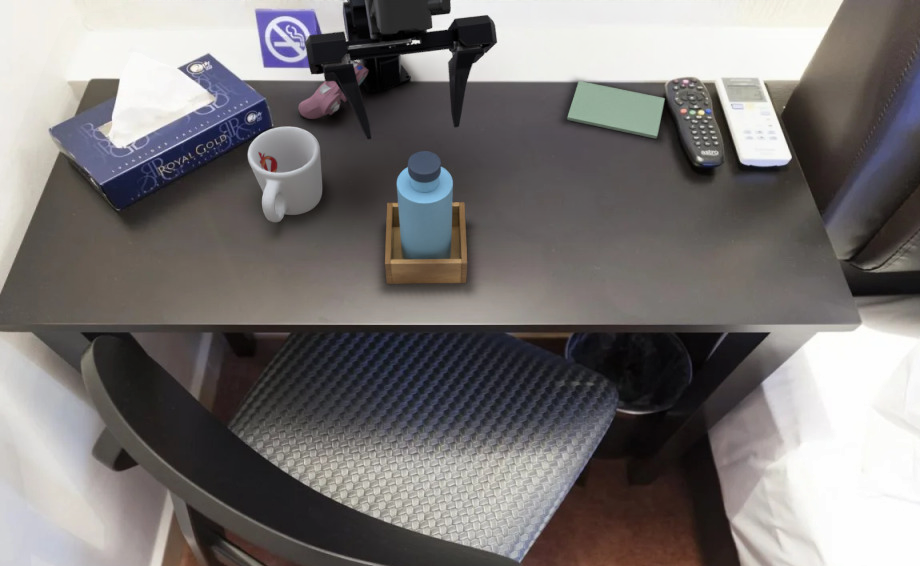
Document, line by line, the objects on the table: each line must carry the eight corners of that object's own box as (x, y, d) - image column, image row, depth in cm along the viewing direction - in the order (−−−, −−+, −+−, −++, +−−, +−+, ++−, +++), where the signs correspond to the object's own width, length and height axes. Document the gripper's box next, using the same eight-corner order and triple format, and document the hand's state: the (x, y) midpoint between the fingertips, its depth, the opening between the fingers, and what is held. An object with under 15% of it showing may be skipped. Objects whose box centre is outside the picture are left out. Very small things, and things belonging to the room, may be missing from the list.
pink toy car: (320, 136, 89) (333, 106, 83) (293, 113, 88) (304, 81, 82) (363, 96, 94) (378, 65, 88) (338, 73, 93) (352, 41, 87)
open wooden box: (387, 287, 74) (384, 263, 70) (389, 227, 78) (387, 202, 75) (465, 286, 74) (467, 263, 70) (463, 227, 79) (464, 202, 75)
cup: (310, 247, 77) (297, 199, 70) (244, 236, 77) (226, 187, 71) (337, 181, 82) (328, 130, 76) (276, 171, 83) (261, 120, 76)
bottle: (393, 243, 76) (385, 153, 65) (437, 226, 77) (436, 135, 66) (415, 278, 73) (410, 190, 62) (459, 260, 75) (463, 171, 63)
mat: (566, 120, 89) (567, 117, 89) (578, 83, 93) (578, 80, 93) (656, 139, 87) (657, 136, 87) (663, 101, 92) (665, 98, 91)
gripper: (288, -48, 57) (320, 139, 60) (499, -69, 59) (520, 112, 62) (296, -10, 67) (324, 147, 71) (475, -29, 70) (493, 124, 73)
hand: (413, 132), depth 69 cm, fingers open, 9 cm apart
